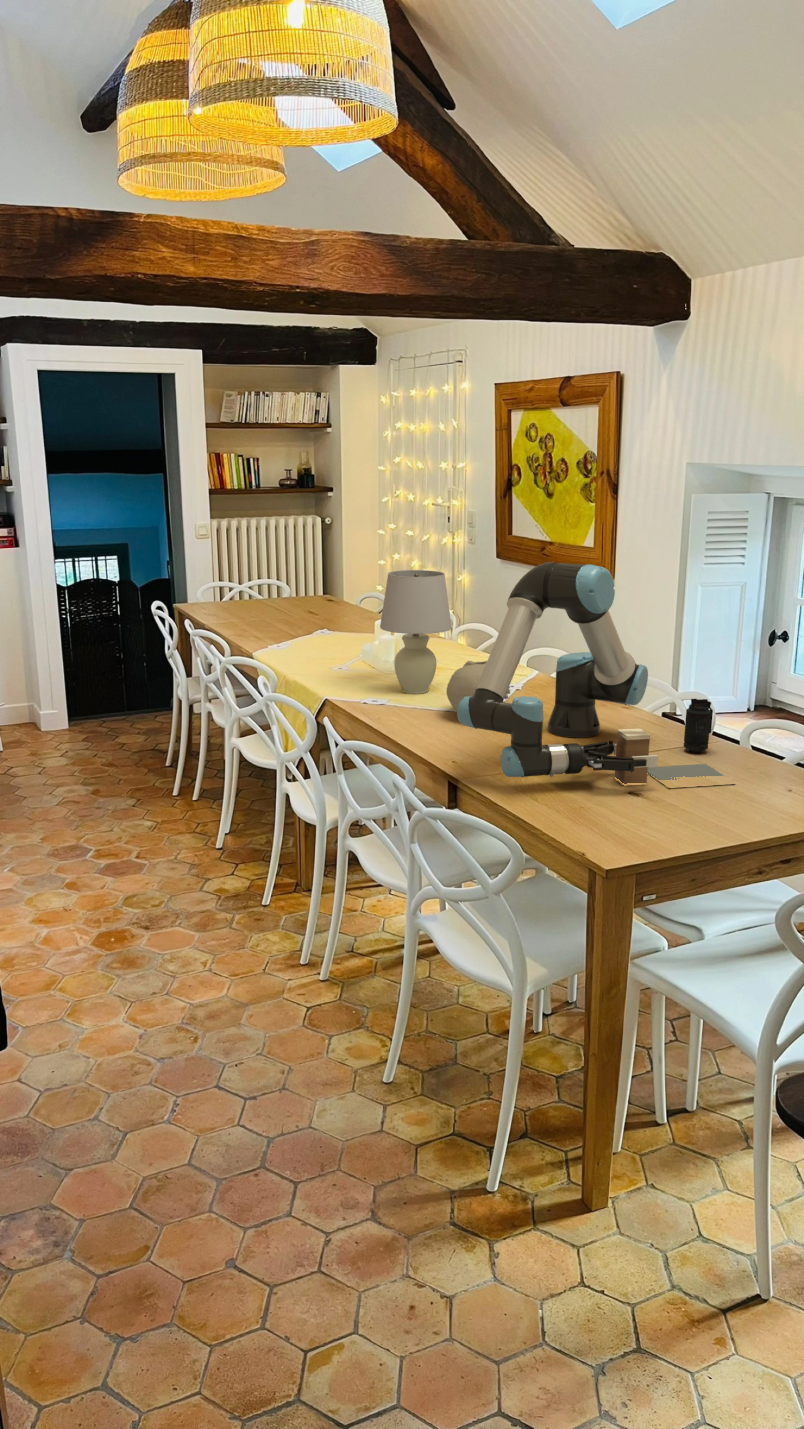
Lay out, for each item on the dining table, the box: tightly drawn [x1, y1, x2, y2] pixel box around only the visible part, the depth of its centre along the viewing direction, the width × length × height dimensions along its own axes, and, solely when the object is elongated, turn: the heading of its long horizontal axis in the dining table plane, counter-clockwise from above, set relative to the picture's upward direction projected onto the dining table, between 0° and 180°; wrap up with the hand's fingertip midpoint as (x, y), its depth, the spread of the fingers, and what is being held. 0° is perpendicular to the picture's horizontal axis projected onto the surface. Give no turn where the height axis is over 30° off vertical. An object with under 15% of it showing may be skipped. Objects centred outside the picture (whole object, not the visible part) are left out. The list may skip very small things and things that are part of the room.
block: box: [614, 728, 651, 784], centre depth 266 cm, size 6×6×13 cm
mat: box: [647, 763, 724, 780], centre depth 271 cm, size 16×18×1 cm
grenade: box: [683, 698, 714, 754], centre depth 292 cm, size 7×7×15 cm
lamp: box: [379, 569, 452, 695], centre depth 356 cm, size 24×24×40 cm
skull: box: [446, 660, 511, 713], centre depth 327 cm, size 20×25×20 cm
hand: (647, 754), depth 266 cm, fingers open, 10 cm apart
